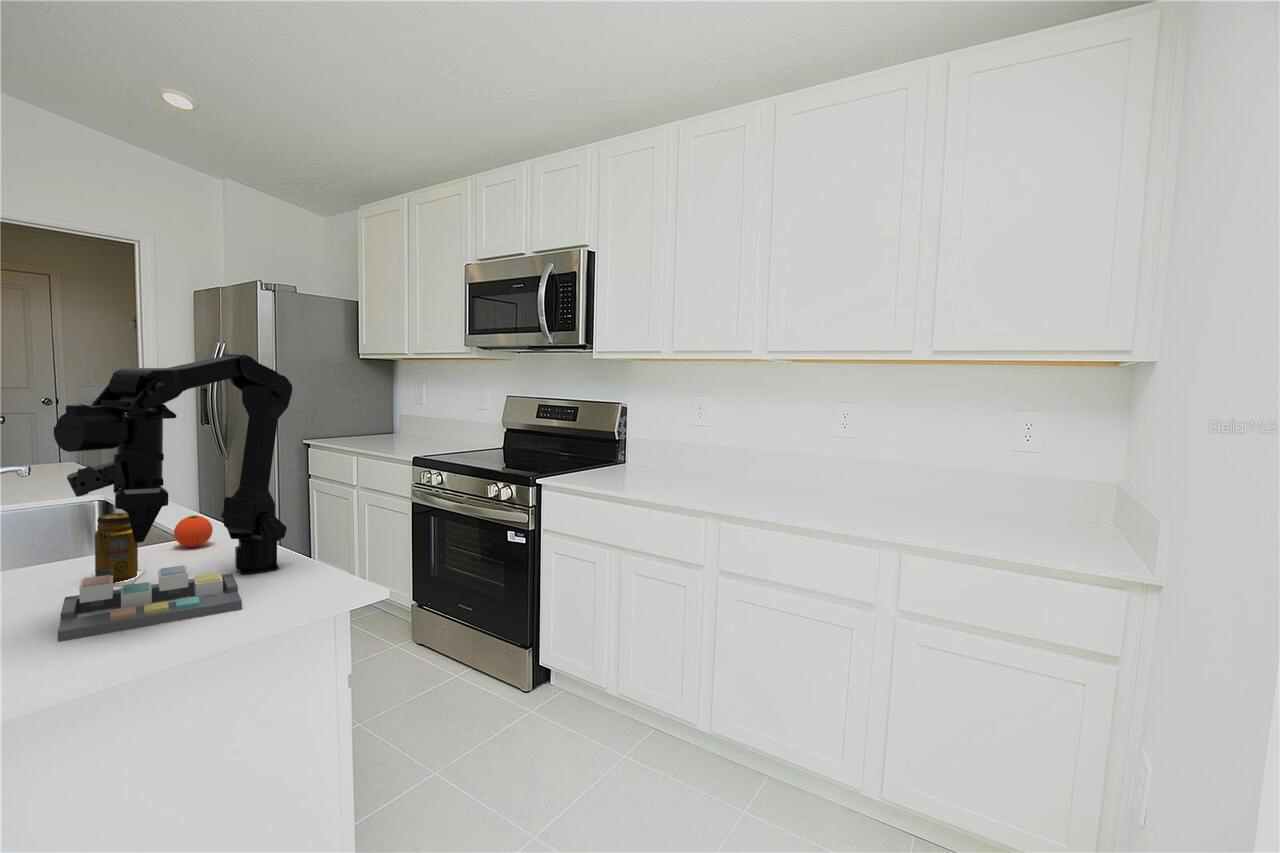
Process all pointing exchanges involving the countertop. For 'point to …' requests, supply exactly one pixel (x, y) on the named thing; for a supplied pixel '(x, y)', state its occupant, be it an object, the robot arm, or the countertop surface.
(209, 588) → the key mustard
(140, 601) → the key teal
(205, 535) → the clementine
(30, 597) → the countertop surface
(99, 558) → the condiment
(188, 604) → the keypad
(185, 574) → the key slate
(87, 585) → the block
